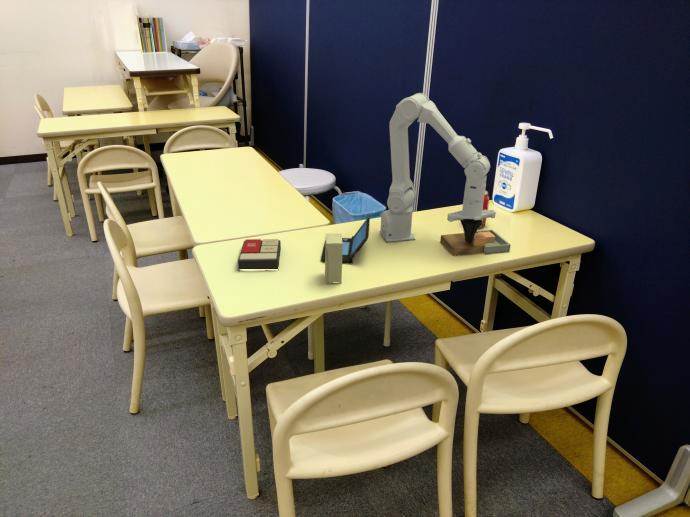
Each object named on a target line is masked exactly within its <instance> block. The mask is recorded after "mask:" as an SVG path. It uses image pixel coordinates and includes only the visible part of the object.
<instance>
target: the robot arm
mask: <svg viewBox="0 0 690 517" xmlns="http://www.w3.org/2000/svg"><path fill="white" fill-rule="evenodd" d="M416 120H417V123H424V124H429V125H430V126H431V127H432V128H433V129H434V130H435V132H437V134H439V136H441V138H443V140H444V141H445V142H446V144H448V152H449V153H451V155H452V156H453V157H454V158H455V160H456V161H457V162H458V164H460V165H461V166H462V168H464V174H465V176H466V180H465V185H464V186H465V187H464V192H463V194H464V195H463V201H462V208H461V210H459V211H455V212H451V213H447V218H446V220H447V221H448V222H449V223H453V222H454V221H459V222H460V223H461V226H462V229H463V233H464V235H465V241H466V242H467V243H470V242H472V240H473V238H474V235H475V233H476V232H477V231H479V229H480V228H479V227H480V226H481V225H482V221H481V218H486V219H489V218H490V219H496V211H495V210H493V209H488V210H482V209H483V202H484V195H485V190H486V187H487V177H488V176H487V174H488V172H490V168H491V163H490V160H489V159H488V157H487V156H486V155H482V152H479V151H477V149H476V148H475V147H474V146H473V145H472V140H471V139H470V138H467V137H466V136H464V135H458V134H457V132H456V131H455V130H454V129H453V127H452V126H451V124H449V122H448V121H447V120H446V119H445V117H444V115H442V113H441V112H440V111H439V109H438V107H437V106H436V103H434V102H433V100H430V98H429V97H428V96H427V95H426V94H425V93H422V92H417V93H414V94H413V95H411V96H409V97H405V98H403V99H402V100H400V102H399V103H397V104H396V106H395V110H394V112H393V115H392V116H391V118H390V120H389V126H388V127H389V142H390V160H391V174H392V181H391V185H390V187H389V193H388V197H387V201H386V205H387V207H388V210H383V211H381V215H380V231H379V233H380V235H381V236H382V237H383V239H384V240H385V241H386V242H387V243H388V242H389V243H393V242H402V241H411V240H416V237H415V236H414V235H413V234H412V225H413V224H412V223H413V213H414V210H413V209H414V208H413V204H414V203H415V201H416V200H417V193H416V191H415V188H414V183H413V181H412V180H411V178H410V175H411V173H410V153H409V131H408V130H409V129H408V128H410V126H411V125H412V124H413V123H414V122H415V121H416Z"/></svg>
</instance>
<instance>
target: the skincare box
mask: <svg viewBox="0 0 690 517" xmlns="http://www.w3.org/2000/svg"><path fill="white" fill-rule="evenodd" d="M324 237H325V238H324V239H325V240H324V243H325V262H324V278H325V279H326V280H325V284H326V283H333V282H341V283H342V282H343V281H342V277H343V276H342V275H343V274H342V273H343V263H342V252H343V241H342V238H343V237H342V233H325V235H324Z"/></svg>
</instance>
